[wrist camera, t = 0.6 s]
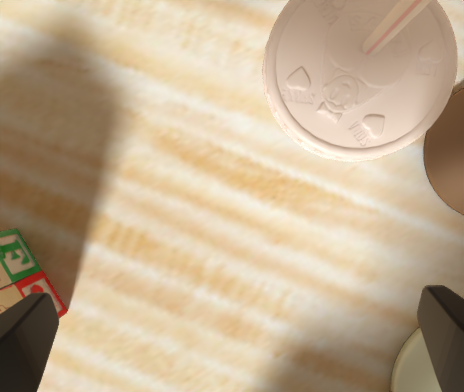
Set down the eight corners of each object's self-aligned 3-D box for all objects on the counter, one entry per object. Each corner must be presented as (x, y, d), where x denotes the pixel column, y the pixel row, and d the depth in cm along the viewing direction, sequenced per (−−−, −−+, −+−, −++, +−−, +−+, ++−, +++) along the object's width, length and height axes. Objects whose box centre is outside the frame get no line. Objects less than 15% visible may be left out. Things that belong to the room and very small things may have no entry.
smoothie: (391, 90, 22) (633, -53, 8) (331, 186, 23) (462, 209, 9) (295, 33, 22) (368, -206, 8) (237, 130, 23) (214, 62, 9)
